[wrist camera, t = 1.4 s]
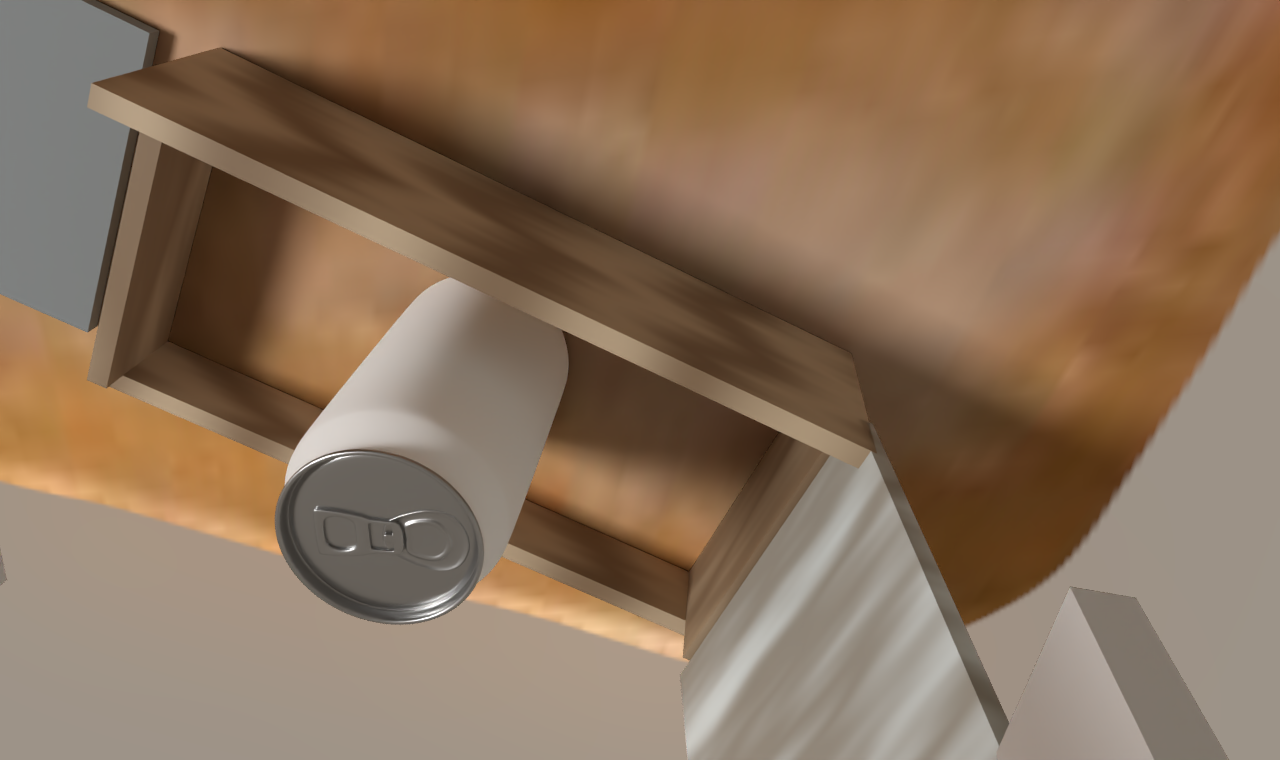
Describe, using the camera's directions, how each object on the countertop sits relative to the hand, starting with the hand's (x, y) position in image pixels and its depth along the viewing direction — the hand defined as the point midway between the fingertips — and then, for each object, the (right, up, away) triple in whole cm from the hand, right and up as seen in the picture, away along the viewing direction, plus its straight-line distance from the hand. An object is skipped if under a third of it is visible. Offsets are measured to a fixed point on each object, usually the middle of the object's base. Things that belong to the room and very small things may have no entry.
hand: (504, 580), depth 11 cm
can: (-4, +4, +24) cm, 25 cm away
